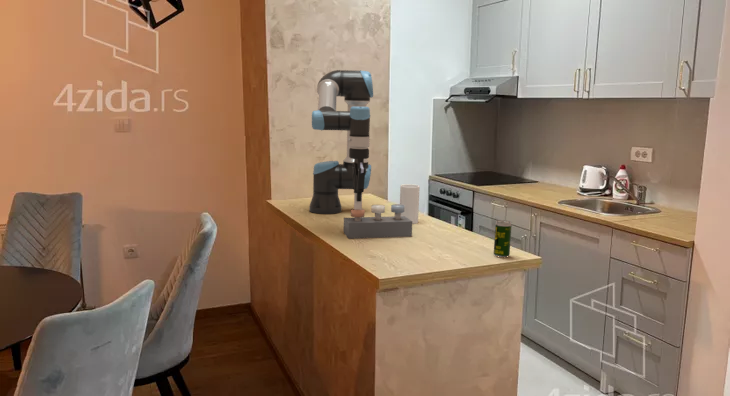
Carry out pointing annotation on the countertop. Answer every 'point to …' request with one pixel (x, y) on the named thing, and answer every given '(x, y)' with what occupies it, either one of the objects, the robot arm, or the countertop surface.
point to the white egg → (377, 211)
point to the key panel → (377, 227)
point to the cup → (410, 201)
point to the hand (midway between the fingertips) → (357, 209)
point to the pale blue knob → (397, 210)
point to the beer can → (502, 238)
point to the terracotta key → (357, 214)
